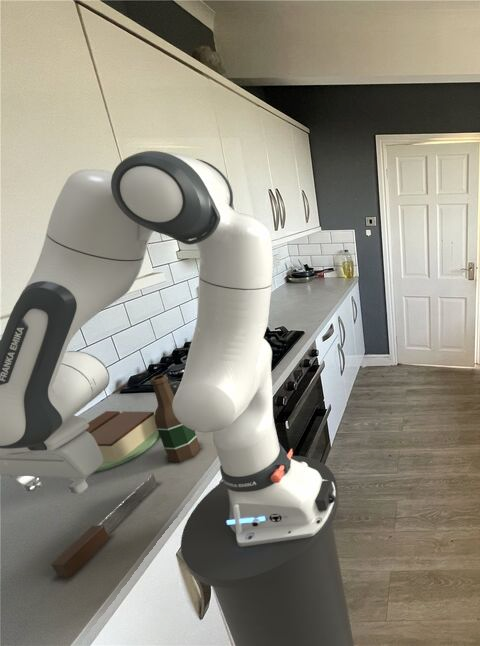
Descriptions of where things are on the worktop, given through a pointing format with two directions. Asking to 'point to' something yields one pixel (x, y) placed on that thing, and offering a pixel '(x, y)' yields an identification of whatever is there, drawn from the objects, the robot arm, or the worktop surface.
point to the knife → (100, 532)
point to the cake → (125, 437)
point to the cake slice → (101, 420)
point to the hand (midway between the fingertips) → (57, 489)
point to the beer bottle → (172, 424)
